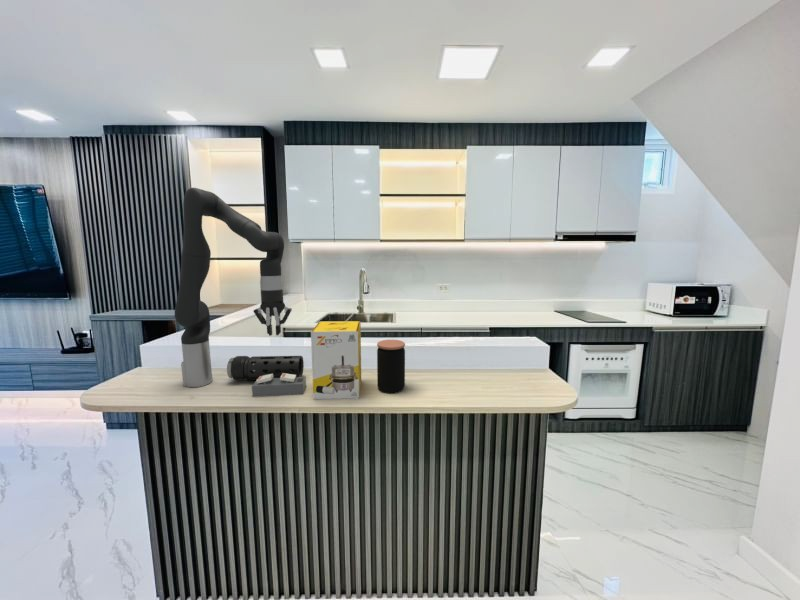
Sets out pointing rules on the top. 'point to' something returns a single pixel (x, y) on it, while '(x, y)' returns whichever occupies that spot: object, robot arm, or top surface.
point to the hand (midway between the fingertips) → (274, 334)
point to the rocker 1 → (265, 378)
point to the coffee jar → (391, 366)
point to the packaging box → (336, 360)
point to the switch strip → (279, 387)
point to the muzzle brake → (264, 366)
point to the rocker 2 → (288, 377)
